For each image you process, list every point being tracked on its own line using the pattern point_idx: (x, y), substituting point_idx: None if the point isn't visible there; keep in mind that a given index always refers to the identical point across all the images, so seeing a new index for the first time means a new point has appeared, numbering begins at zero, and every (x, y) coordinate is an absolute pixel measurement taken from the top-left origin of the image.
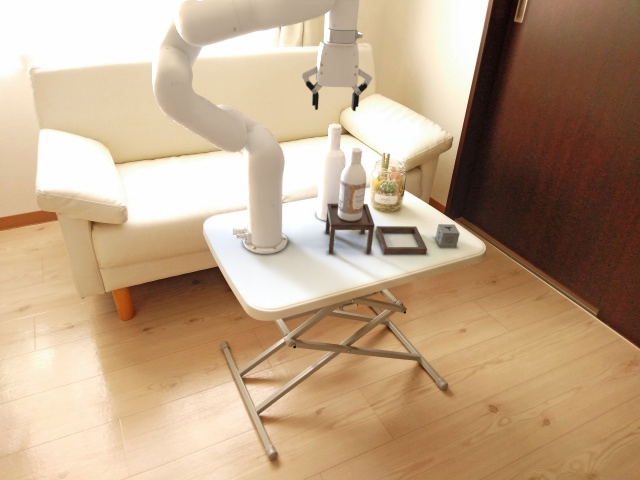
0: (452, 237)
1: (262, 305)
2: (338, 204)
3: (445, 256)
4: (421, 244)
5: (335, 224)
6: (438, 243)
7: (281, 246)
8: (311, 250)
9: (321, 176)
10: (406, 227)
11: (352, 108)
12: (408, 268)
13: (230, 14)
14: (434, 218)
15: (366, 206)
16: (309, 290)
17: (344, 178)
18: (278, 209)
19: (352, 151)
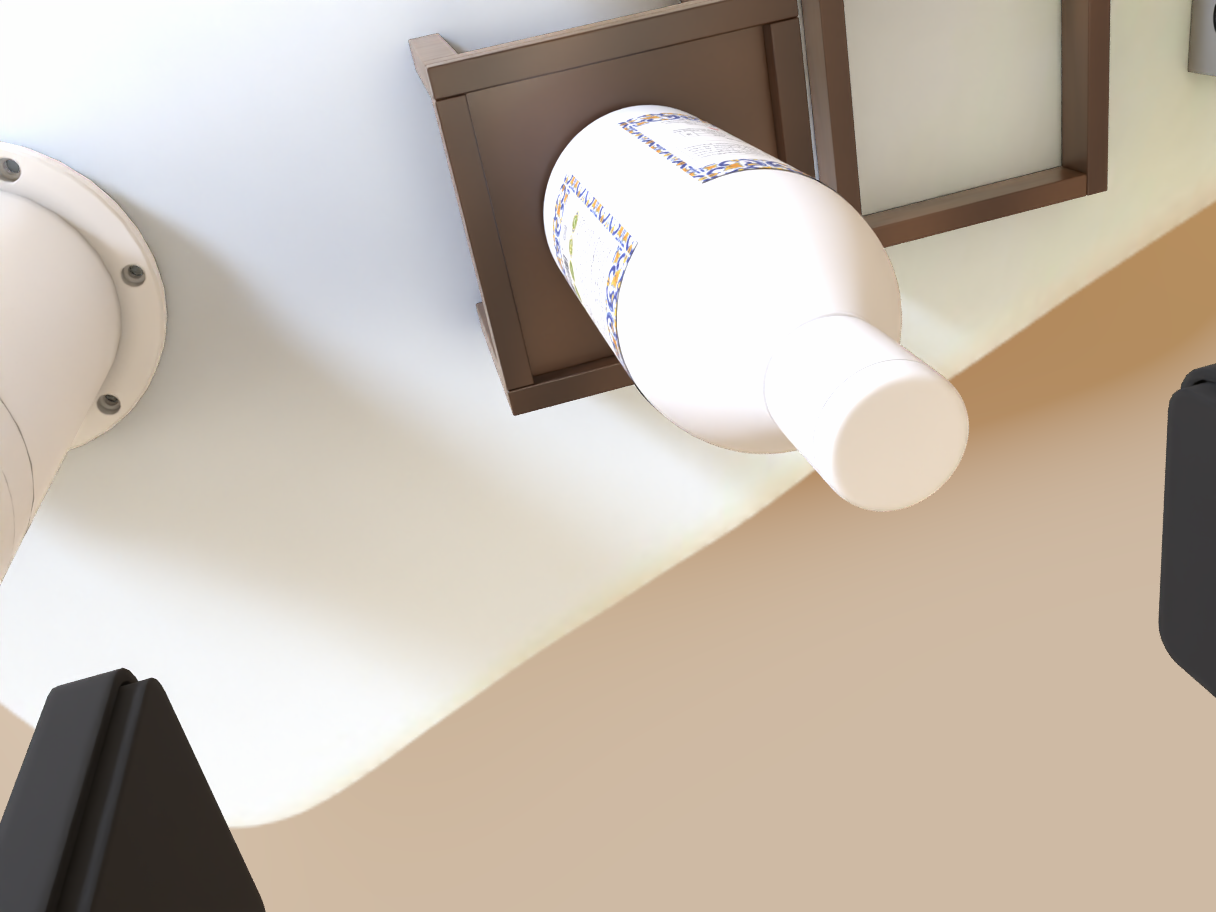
0: None
1: (232, 818)
2: (558, 248)
3: (1188, 172)
4: (1085, 138)
5: (545, 407)
6: (1195, 36)
7: (147, 374)
8: (359, 316)
9: None
10: None
11: (1185, 603)
12: (950, 350)
13: None
14: None
15: (785, 40)
16: (431, 665)
17: (667, 416)
18: (51, 482)
19: (840, 493)
